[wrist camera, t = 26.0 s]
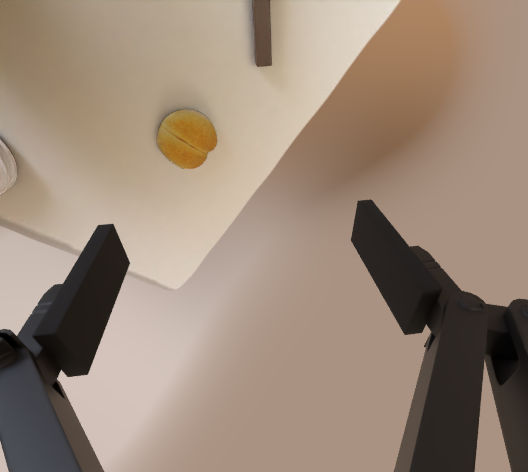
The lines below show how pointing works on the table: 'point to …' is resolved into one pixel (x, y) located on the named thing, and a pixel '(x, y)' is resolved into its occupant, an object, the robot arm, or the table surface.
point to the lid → (6, 168)
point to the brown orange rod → (262, 32)
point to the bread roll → (186, 138)
